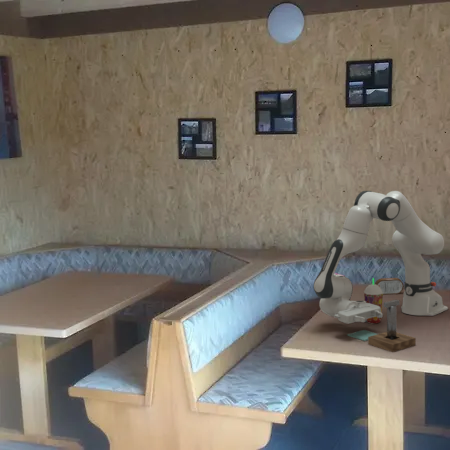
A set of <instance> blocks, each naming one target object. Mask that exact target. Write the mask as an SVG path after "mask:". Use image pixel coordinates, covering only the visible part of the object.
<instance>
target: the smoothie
mask: <svg viewBox="0 0 450 450" xmlns="http://www.w3.org/2000/svg"><path fill="white" fill-rule="evenodd" d="M363 295H364V300H363V301H366V303H370V304H374V305H377V306H379V307H380V308H381V313H382V314H383V296H384V295H383V291H382V290H381V288H380V287H379V286H378V285H376V284H375V278H374V277H373V278H372V283H371V284H369V285H367V286H366V288H365V289H364V291H363ZM366 320H367V321H366V322H367V323H369V324H379V323H381V320H382V317H381V318H378V317H377V316H376V317H372V318H368V319H366Z"/></svg>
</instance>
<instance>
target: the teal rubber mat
mask: <svg viewBox="0 0 450 450" xmlns="http://www.w3.org/2000/svg"><path fill="white" fill-rule="evenodd" d="M377 334H378V333H376V332H372V331H371V330H370V331H369V330H366V329H363V330H362V329H361V330H359V331H355V332H351V333H348V334H346V335H347V336H348V337H350V338H354V339H355V340H356V339H357V340H360V341H362V342H367V341H368V337H370V336H373V335H377Z"/></svg>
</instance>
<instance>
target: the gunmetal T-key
mask: <svg viewBox="0 0 450 450" xmlns="http://www.w3.org/2000/svg"><path fill="white" fill-rule="evenodd" d="M397 306H400V300H399V299H393V300H388V301H384V302H383V307H384V308H386V332H387V338H388V339H391V340H394V339H396V332H397Z"/></svg>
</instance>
